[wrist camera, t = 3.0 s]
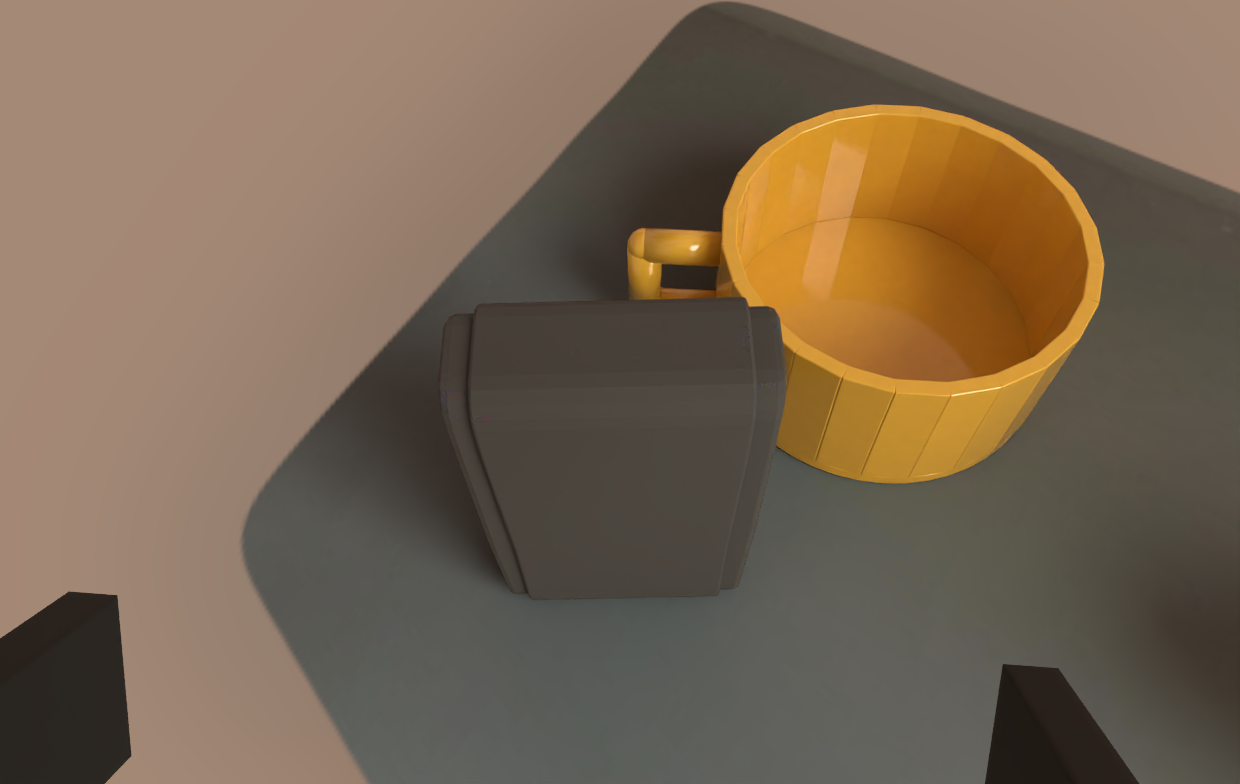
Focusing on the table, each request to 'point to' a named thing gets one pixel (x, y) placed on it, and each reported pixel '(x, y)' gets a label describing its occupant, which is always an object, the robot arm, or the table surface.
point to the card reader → (616, 439)
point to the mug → (898, 283)
